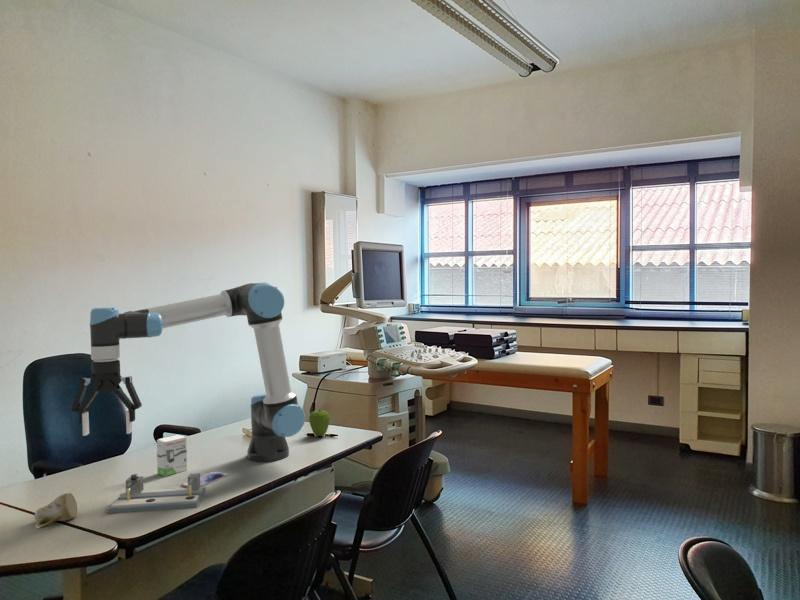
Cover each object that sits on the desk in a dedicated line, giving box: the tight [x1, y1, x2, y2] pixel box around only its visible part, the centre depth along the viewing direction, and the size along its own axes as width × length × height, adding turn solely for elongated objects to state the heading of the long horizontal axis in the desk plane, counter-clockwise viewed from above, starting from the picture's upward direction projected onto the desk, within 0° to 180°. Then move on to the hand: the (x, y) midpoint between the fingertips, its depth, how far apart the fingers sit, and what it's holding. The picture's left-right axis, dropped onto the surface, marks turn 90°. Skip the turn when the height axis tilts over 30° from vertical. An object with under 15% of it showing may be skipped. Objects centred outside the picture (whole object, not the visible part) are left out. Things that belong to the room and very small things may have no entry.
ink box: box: [156, 434, 188, 477], centre depth 197 cm, size 9×5×12 cm, turn 141°
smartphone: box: [180, 470, 230, 488], centre depth 188 cm, size 7×1×15 cm
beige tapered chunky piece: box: [34, 492, 78, 528], centre depth 157 cm, size 8×10×10 cm
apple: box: [308, 408, 331, 437], centre depth 241 cm, size 9×8×12 cm
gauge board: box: [107, 473, 207, 514], centre depth 170 cm, size 24×13×6 cm, turn 98°
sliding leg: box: [125, 473, 145, 501], centre depth 169 cm, size 4×8×5 cm, turn 8°
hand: (107, 433), depth 170 cm, fingers open, 11 cm apart
